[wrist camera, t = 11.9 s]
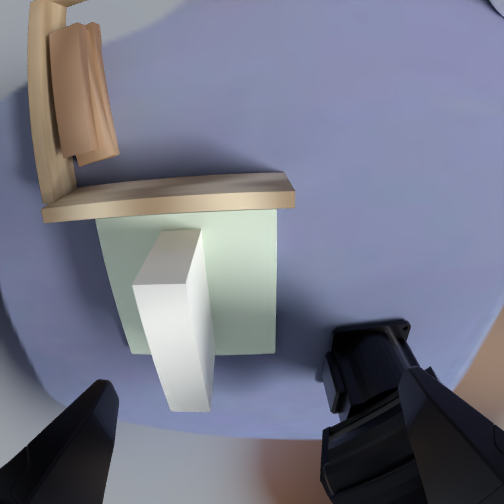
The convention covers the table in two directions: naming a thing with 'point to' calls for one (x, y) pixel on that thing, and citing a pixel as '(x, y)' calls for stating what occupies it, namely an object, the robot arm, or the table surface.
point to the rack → (132, 192)
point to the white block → (178, 318)
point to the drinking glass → (498, 6)
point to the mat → (217, 268)
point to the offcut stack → (81, 94)
